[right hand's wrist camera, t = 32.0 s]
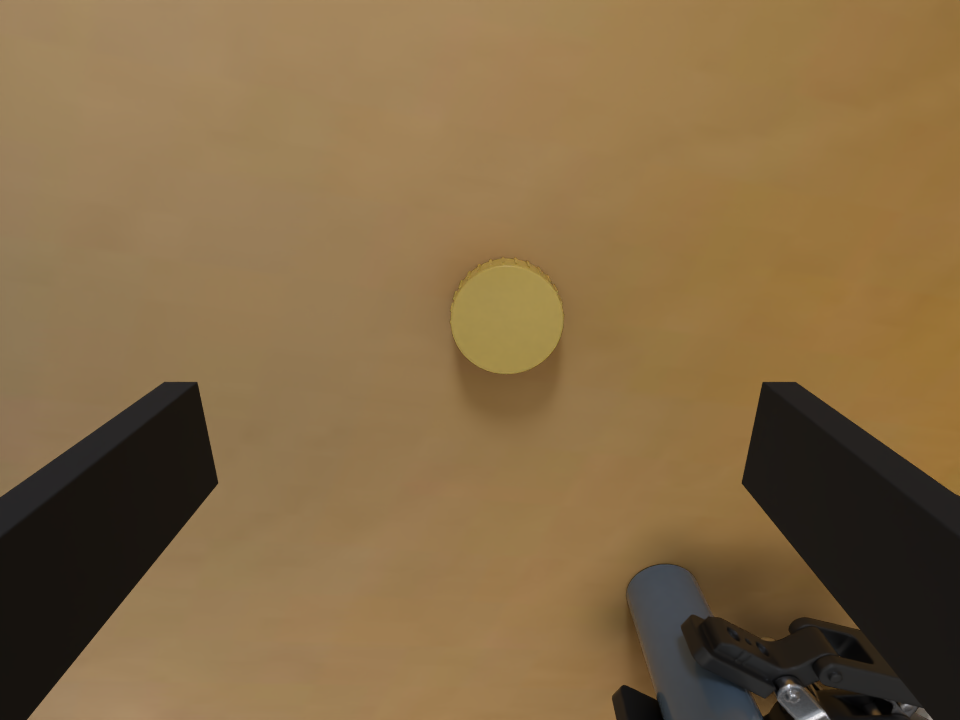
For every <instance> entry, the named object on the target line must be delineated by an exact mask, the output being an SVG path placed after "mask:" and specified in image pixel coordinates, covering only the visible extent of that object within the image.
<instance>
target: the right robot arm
mask: <svg viewBox="0 0 960 720" xmlns="http://www.w3.org/2000/svg"><path fill="white" fill-rule="evenodd" d="M217 484H218V479H217V475H216V470H215V465H214V460H213V455H212V450H211V446H210V441H209V436H208V431H207V426H206V422H205V417H204V412H203V407H202V402H201V397H200V393H199V388H198V383H197V382H164V383H162V384H161V385H159V386H158V387H157V388H155V389H154V390H152V391H151V392H149V393H148V394H147V395H145V396H144V397H142V398H141V399H140V400H138V401H137V402H135V403H134V404H132V405H131V406H130V407H128V408H127V409H125V410H124V411H122V412H121V413H120V414H118V415H117V416H115V417H114V418H113V419H111V420H110V421H108V422H107V423H105V424H104V425H103V426H101V427H100V428H98V429H97V430H95V431H94V432H93V433H91V434H90V435H88V436H87V437H86V438H84V439H83V440H81V441H80V442H78V443H77V444H76V445H74V446H73V447H71V448H70V449H68V450H67V451H66V452H64V453H63V454H61V455H60V456H59V457H57V458H56V459H54V460H53V461H51V462H50V463H49V464H47V465H46V466H44V467H43V468H41V469H40V470H39V471H37V472H36V473H34V474H33V475H32V476H30V477H29V478H27V479H26V480H24V481H23V482H22V483H20V484H19V485H17V486H16V487H14V488H13V489H12V490H10V491H9V492H7V493H6V494H5V495H3V496H2V497H0V720H27V719H28V718H29V716H30V715H31V714H32V713H33V711H34V710H35V709H36V708H37V707H38V705H39V704H40V703H41V702H42V700H43V699H44V698H45V697H46V695H47V694H48V693H49V692H50V690H51V689H52V688H53V687H54V686H55V684H56V683H57V682H58V681H59V679H60V678H61V677H62V676H63V674H64V673H65V672H66V671H67V669H68V668H69V667H70V666H71V665H72V663H73V662H74V661H75V660H76V658H77V657H78V656H79V655H80V653H81V652H82V651H83V650H84V648H85V647H86V646H87V645H88V644H89V642H90V641H91V640H92V639H93V637H94V636H95V635H96V634H97V632H98V631H99V630H100V629H101V627H102V626H103V625H104V624H105V623H106V621H107V620H108V619H109V618H110V616H111V615H112V614H113V613H114V611H115V610H116V609H117V608H118V606H119V605H120V604H121V603H122V602H123V600H124V599H125V598H126V597H127V595H128V594H129V593H130V592H131V590H132V589H133V588H134V587H135V585H136V584H137V583H138V582H139V581H140V579H141V578H142V577H143V576H144V574H145V573H146V572H147V571H148V569H149V568H150V567H151V566H152V564H153V563H154V562H155V561H156V560H157V558H158V557H159V556H160V555H161V553H162V552H163V551H164V550H165V548H166V547H167V546H168V545H169V543H170V542H171V541H172V540H173V539H174V537H175V536H176V535H177V534H178V532H179V531H180V530H181V529H182V527H183V526H184V525H185V524H186V522H187V521H188V520H189V519H190V518H191V516H192V515H193V514H194V513H195V511H196V510H197V509H198V508H199V506H200V505H201V504H202V503H203V501H204V500H205V499H206V498H207V497H208V495H209V494H210V493H211V492H212V490H213V489H214V488H215V487H216V485H217ZM742 484H743V485H744V487H745V488H746V489H747V490H748V492H749V493H750V494H751V495H752V497H753V498H754V499H755V500H756V501H757V503H758V504H759V505H760V506H761V508H762V509H763V510H764V511H765V513H766V514H767V515H768V516H769V518H770V519H771V520H772V521H773V522H774V524H775V525H776V526H777V527H778V529H779V530H780V531H781V532H782V534H783V535H784V536H785V537H786V539H787V540H788V541H789V542H790V543H791V545H792V546H793V547H794V548H795V550H796V551H797V552H798V553H799V555H800V556H801V557H802V558H803V560H804V561H805V562H806V563H807V564H808V566H809V567H810V568H811V569H812V571H813V572H814V573H815V574H816V576H817V577H818V578H819V579H820V581H821V582H822V583H823V584H824V585H825V587H826V588H827V589H828V590H829V592H830V593H831V594H832V595H833V597H834V598H835V599H836V600H837V602H838V603H839V604H840V605H841V606H842V608H843V609H844V610H845V611H846V613H847V614H848V615H849V616H850V618H851V619H852V620H853V621H854V623H855V624H856V625H857V626H858V627H859V629H860V630H861V631H862V632H863V634H864V635H865V636H866V637H867V639H868V640H869V641H870V642H871V644H872V645H873V646H874V647H875V648H876V650H877V651H878V652H879V653H880V655H881V656H882V657H883V658H884V660H885V661H886V662H887V663H888V665H889V666H890V667H891V668H892V669H893V671H894V672H895V673H896V674H897V676H898V677H899V678H900V679H901V681H902V682H903V683H904V684H905V686H906V687H907V688H908V689H909V690H910V692H911V693H912V694H913V695H914V697H915V698H916V699H917V700H918V702H919V703H920V704H921V705H922V707H923V708H924V709H925V710H926V711H927V713H928V714H929V715H930V716H931V718H932V719H933V720H960V496H958V495H956V494H954V493H953V492H951V491H950V490H948V489H947V488H946V487H944V486H943V485H941V484H940V483H938V482H937V481H936V480H934V479H933V478H931V477H930V476H928V475H927V474H926V473H924V472H923V471H921V470H920V469H919V468H917V467H916V466H914V465H913V464H911V463H910V462H909V461H907V460H906V459H904V458H903V457H901V456H900V455H899V454H897V453H896V452H894V451H893V450H892V449H890V448H889V447H887V446H886V445H884V444H883V443H882V442H880V441H879V440H877V439H876V438H874V437H873V436H872V435H870V434H869V433H867V432H866V431H865V430H863V429H862V428H860V427H859V426H857V425H856V424H855V423H853V422H852V421H850V420H849V419H847V418H846V417H845V416H843V415H842V414H840V413H839V412H838V411H836V410H835V409H833V408H832V407H830V406H829V405H828V404H826V403H825V402H823V401H822V400H820V399H819V398H818V397H816V396H815V395H813V394H812V393H811V392H809V391H808V390H806V389H805V388H803V387H802V386H801V385H799V384H798V383H796V382H763V383H762V388H761V393H760V397H759V402H758V407H757V412H756V417H755V421H754V426H753V431H752V436H751V441H750V446H749V450H748V455H747V460H746V465H745V470H744V475H743V479H742Z"/></svg>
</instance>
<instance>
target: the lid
mask: <svg viewBox="0 0 960 720" xmlns="http://www.w3.org/2000/svg"><path fill="white" fill-rule="evenodd" d="M557 293H558V290H557V288H556V286H555V285H554V284H553V285H552V283H551V280H550V278H549V276H548V275H545V274H544V273H543V272H542V271H541V270H540V268H539V267H538V266H537V268H536V267H535V266H533V265H532V264H529V261H526V262H525V261H521V260H517V258H516V257H514V259H504V257H502V259H496V260H493V261H492V259H490V260H489V262H487V263H484V264H482V265H480V264H479V265H478V267H477V268H476V269H474V270H473V271H472V272H470V271H469V272H468V275H467V277H466V278H465V279H464V280H463V281H462V280H461V282H460V284H459V289H458V291H455V294H454V297H453V300H454V302H452V305H451V308H450V312H451V319H450V324H451V330H452V335H453V337H454V340H455V342H456V345H457V346H458V348H459V350H460V351H461V352H462V354H463V355H464V356H465V357H466V358H467V359H468V360H469V361H470V362H472V363H473V364H474V365H476V366H478V367H480V368H481V369H484V370H486V371H489V372H493V373H498V374H516V373H520V372H524V371H527V370H530V369H532V368H534V367H536V366H537V365H539V364H540V363H542V362H543V361H544V360H545V359H546V358H547V357H548V356H549V355H550V354H551V353H552V352H553V350H554V349H555V347H556V346H557V344H558V342H559V340H560V337H561V334H562V329H563V321H564V318H563V317H564V313H563V309H562V304H563V303H562V301H561V299H560V297H559V295H557Z"/></svg>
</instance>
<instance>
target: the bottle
mask: <svg viewBox="0 0 960 720" xmlns="http://www.w3.org/2000/svg"><path fill="white" fill-rule="evenodd" d="M626 597H627V602H628V605H629V608H630V612H631V615H632V618H633V621H634V625H635V628H636V631H637V635H638V638H639V641H640V645H641V648H642V651H643V654H644V658H645V661H646V664H647V668H648V671H649V674H650V678H651V681H652V684H653V687H654V691H655V694H656V697H657V701H658V704H659V707H660V711H661V714H662V717H663V720H764V718H763V716H762V714H761V712H760V710H759V708H758V706H757V704H756V702H755V700H754V698H753V696H752V694H751V692H750V691H749V690H747V689H745V688H743V687H741V686H739V685H737V684H734V683H732V682H730V681H728V680H726V679H724V678H722V677H720V676H718V675H716V674H714V673H712V672H710V671H708V670H706V669H704V668H703V667H701V666H700V665H699V664H698V663H697V662H696V661H695V660H694V658H693V657H692V655H691V652H690V650H689V647H688V645H687V642H686V640H685V638H684V635H683V633H682V630H681V625H682V624H683V623H684V622H685V620H686V619H687V618H688V617H689V616H690V615H691V614H694V615H696V616H698V617H700V618H702V619H704V620H705V619H706V618H707V617H708V616H711V617H714V615H713V613H712V611H711V609H710V607H709V605H708V603H707V601H706V599H705V597H704V595H703V593H702V591H701V589H700V586H699V584H698V582H697V580H696V579H695V577H694V576H693V575H692V574H691V573H690V572H689V571H687V570H686V569H684V568H682V567H679V566H676V565H670V564H661V565H655V566H651V567H648V568H646V569H644V570H642V571H641V572H639V573H638V574H637V575H636V576H635V577H634V578H633V579H632V580H631V582H630V583H629V586H628V588H627V594H626Z"/></svg>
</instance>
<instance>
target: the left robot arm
mask: <svg viewBox="0 0 960 720" xmlns="http://www.w3.org/2000/svg"><path fill="white" fill-rule="evenodd" d="M681 630H682V633H683V635H684V638H685V640H686V642H687V645H688V647H689V650H690V652H691V655H692V657H693V658H694V660H695V661H696V662H697V663H698V664H699V665H700V666H701V667H703V668H704V669H706V670H708V671H710V672H712V673H714V674H716V675H718V676H720V677H722V678H724V679H726V680H728V681H730V682H732V683H734V684H737V685H739V686H741V687H743V688H745V689H747V690H749V691H751V692H753V693H755V694H757V695H759V696H761V697H763V698H767V697H768V696H769V695H770V694H771V693H772V692H773V693H774V694H775V696H776V698H777V700H778V701H777V702H776V703H775V705H774V706H773V708H772V709H771V711H770V712H769V714H767V715H766V716H764V717H763V718H764V720H928V719H926V718H924V717H922V716H920V715H918V714H917V713H915V711H916V710H917V709H918V708H919V707H921V708H923V707H922V705H921V704H920V703H919V702H918V700H917V699H916V698H915V697H914V695H913V694H912V693H911V692H910V690H909V689H908V688H907V687H906V686H905V684H904V683H903V682H902V681H901V679H900V678H899V677H898V676H897V674H896V673H895V672H894V671H893V669H892V668H891V667H890V666H889V665H888V663H887V662H886V661H885V660H884V658H883V657H882V656H881V655H880V653H879V652H878V651H877V650H876V648H875V647H874V646H873V645H872V644H871V642H870V641H869V640H868V639H867V637H866V636H865V635H864V634H863V632H862V631H861V630H858V629H853V628H849V627H845V626H841V625H837V624H832V623H828V622H824V621H820V620H816V619H811V618H807V617H803V618H799V619H796V620H794V621H793V622H792V623H791V624H790V626H789V633H790V634H791V635H789V636H787V637H785V638H783V639H781V640H777V641H776V640H775V639H773V638H770V637H763V638H758V637H757V636H755V635H753V634H751V633H749V632H747V631H745V630H743V629H741V628H738V627H737V626H735V625H733V624H731V623H729V622H728V621H726V620H724V619H722V618H718V617H711V616H708V617H707V618H706V619H705V620H704V619H702V618H700V617H698V616H696V615H694V614H691V615H690V616H689V617H688V618H687V619H686V620H685V622H684V623H683V624H682V625H681ZM839 656H841V657H839ZM819 680H820V682H821V683H822V684H824V685H826V686H830V687H834V688H838V689H836V690H824V689H823V688H822V687H821V686H820V685H818V684H817V683H816V682H817V681H819ZM612 701H613V705H614V710H615V714H616V719H617V720H663V717H662V714H661V711H660V707H659V704H658V701H657V700H656V699H653V698H651V697H649V696H647V695H645V694H643V693H641V692H639V691H637V690H635V689H632V688H630V687H628V686H626V685H623V686H621V687H620V688H619V689H618V690H617V691H616V692H615V694H614V695H613V696H612Z"/></svg>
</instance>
